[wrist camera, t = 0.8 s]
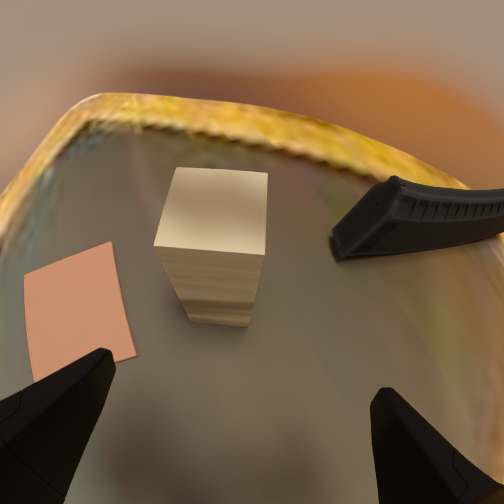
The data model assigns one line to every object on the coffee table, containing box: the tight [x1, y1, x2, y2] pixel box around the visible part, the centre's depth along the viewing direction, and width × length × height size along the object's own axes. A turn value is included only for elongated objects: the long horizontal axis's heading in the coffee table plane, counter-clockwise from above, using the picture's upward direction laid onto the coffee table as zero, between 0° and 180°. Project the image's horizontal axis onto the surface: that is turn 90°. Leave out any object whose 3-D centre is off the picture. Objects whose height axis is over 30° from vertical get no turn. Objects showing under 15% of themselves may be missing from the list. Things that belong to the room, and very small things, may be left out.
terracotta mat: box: [24, 241, 138, 382], centre depth 23 cm, size 12×12×1 cm
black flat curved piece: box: [332, 176, 504, 257], centre depth 26 cm, size 17×3×30 cm
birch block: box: [154, 167, 268, 327], centre depth 19 cm, size 5×5×13 cm
